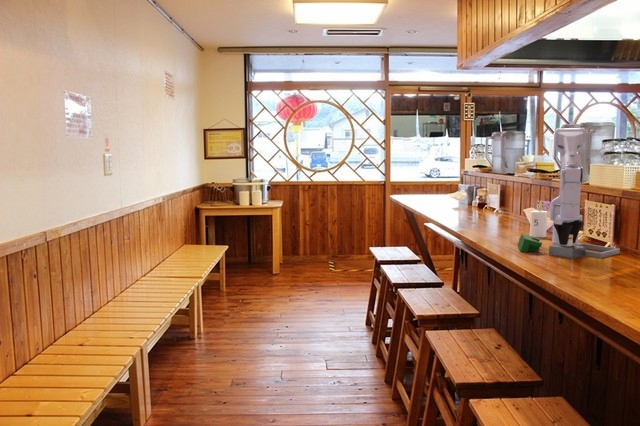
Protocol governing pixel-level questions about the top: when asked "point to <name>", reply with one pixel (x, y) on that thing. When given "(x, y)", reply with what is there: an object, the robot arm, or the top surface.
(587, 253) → the tray
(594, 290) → the top surface
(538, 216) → the candle
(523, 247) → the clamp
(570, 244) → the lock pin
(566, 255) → the block
